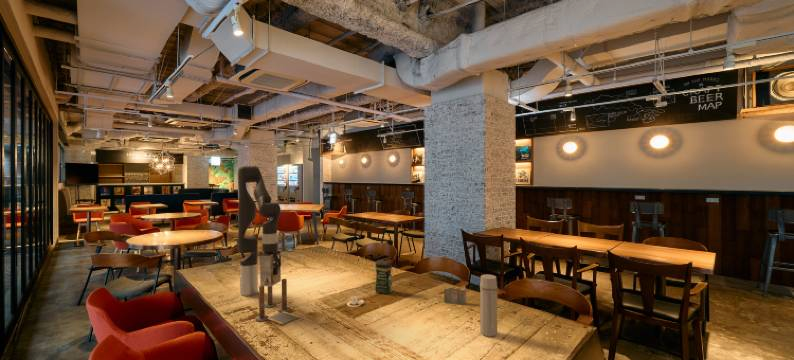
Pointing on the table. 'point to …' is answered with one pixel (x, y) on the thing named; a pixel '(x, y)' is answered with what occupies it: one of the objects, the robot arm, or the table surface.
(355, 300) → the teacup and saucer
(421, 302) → the table surface
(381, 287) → the coffee jar
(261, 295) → the post
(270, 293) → the post
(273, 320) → the pad
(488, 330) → the water bottle
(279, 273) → the coffee box
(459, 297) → the architectural model on board
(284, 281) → the post
